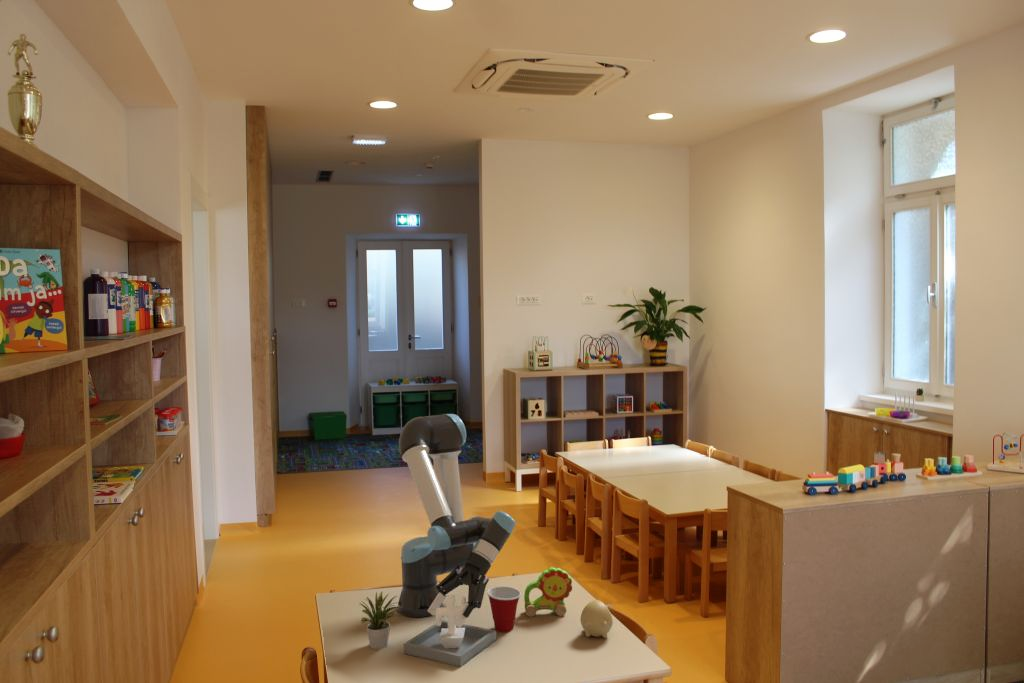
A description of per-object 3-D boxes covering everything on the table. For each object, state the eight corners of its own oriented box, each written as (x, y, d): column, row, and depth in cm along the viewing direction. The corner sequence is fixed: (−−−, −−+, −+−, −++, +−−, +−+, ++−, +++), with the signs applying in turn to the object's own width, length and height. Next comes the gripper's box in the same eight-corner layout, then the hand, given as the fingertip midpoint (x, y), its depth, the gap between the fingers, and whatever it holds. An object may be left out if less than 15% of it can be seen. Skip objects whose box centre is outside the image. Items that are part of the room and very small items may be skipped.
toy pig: (612, 646, 249) (614, 614, 256) (611, 628, 241) (613, 595, 248) (580, 644, 251) (583, 611, 258) (578, 625, 242) (581, 593, 250)
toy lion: (525, 617, 264) (524, 571, 264) (524, 611, 270) (523, 566, 269) (573, 615, 265) (572, 570, 264) (571, 609, 270) (570, 564, 270)
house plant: (373, 662, 234) (371, 606, 233) (343, 649, 243) (341, 596, 242) (410, 645, 245) (408, 592, 244) (380, 634, 254) (378, 582, 253)
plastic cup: (518, 636, 249) (517, 598, 249) (484, 634, 252) (483, 596, 251) (525, 622, 260) (524, 586, 260) (492, 621, 262) (491, 584, 262)
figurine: (438, 640, 247) (435, 592, 246) (469, 639, 246) (466, 590, 245) (436, 651, 239) (432, 601, 238) (467, 649, 239) (464, 600, 238)
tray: (403, 653, 239) (403, 643, 239) (441, 629, 257) (441, 619, 257) (461, 666, 230) (460, 656, 229) (496, 640, 247) (496, 630, 247)
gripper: (514, 573, 243) (476, 637, 234) (464, 555, 261) (427, 614, 252) (500, 560, 239) (461, 624, 230) (450, 543, 258) (412, 602, 248)
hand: (443, 619), depth 241 cm, fingers open, 12 cm apart
